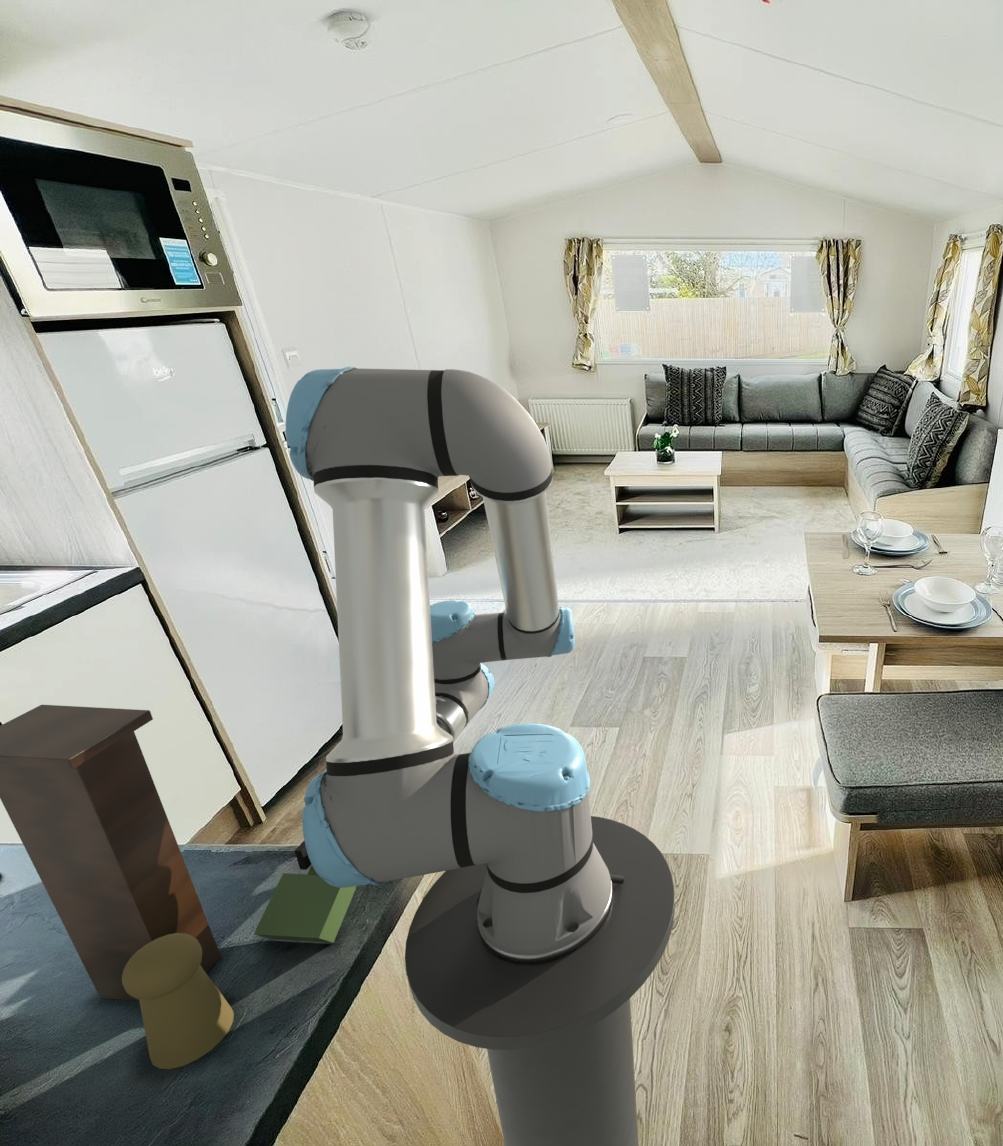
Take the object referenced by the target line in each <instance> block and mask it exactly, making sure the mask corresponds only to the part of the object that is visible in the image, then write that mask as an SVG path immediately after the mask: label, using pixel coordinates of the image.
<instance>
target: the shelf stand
mask: <svg viewBox="0 0 1003 1146" xmlns="http://www.w3.org/2000/svg"><path fill="white" fill-rule="evenodd" d="M153 720H154V718H153V715H152V711H150V710H149V709H131V708H115V707H114V708H111V707H96V706H95V707H94V706H93V707H92V706H91V707H90V706H76V705H58V704H57V705H55V704H40V705H37V706H36V707H34V708H32V709H30V710H28V711H26V712H24V713H22V714H21V715H18V716H16V717H14V718H13V719H10V720H9V721H6V722H5V723H2V724H1V725H0V801H1V803H2V805H3V807H4V809H5V811H6V813H7V815H8V817H9V819H10V821H11V823H12V825H13V827H14V828H15V831H16V833H17V835H18V837H19V839H20V841H21V843H22V845H23V847H24V849H25V851H26V853H27V855H28V857H29V859H30V862H31V864H32V865H33V867H34V869H35V871H36V873H37V875H38V877H39V879H40V881H41V883H42V885H43V886H44V889H45V891H46V893H47V895H48V898H49V899H50V901H51V904H52V905H53V907H54V908H55V911H56V913H57V915H58V916H59V918H60V921H61V923H62V925H63V927H64V928H65V931H66V933H67V935H68V937H69V939H70V941H71V944H72V945H73V947H74V948H75V951H76V953H77V955H78V956H79V958H80V961H81V963H82V965H83V967H84V969H85V971H86V972H87V974H88V977H89V979H90V980H91V982H92V985H93V986H94V988H95V990H96V991H95V992H97V994H98V997H99V998H100V999H107V1000H120V1001H121V1000H122V1001H123V1000H124V1001H136V1002H137V1001H138V1002H139V999H136V998H134V997H132V996H131V995H129V994H128V993H127V992H126V990H125V988H124V986H123V984H122V974H123V970H124V968H125V966H126V964H127V962H128V961H129V959H130V958H131V957H132V956H133V955H134V954H135V953H136V952H137V951H138V950H139V949H141V948H142V947H143V946H145V945H146V944H148V943H150V942H152V941H153V940H155V939H157V938H160V937H163V936H165V935H169V934H174V933H185V934H189V935H191V936H193V937H195V938H196V939H197V940H198V942H199V944H200V945H201V948H202V959H201V963H200V966H201V967H202V968H203V970H204V971H205V972H206V974H207V973H208V972H209V971H210V970H211V969H212V967H214V965H215V964H216V963H217V962H218V961H219V960H220V959H221V957H222V955H221V953H220V949H219V947H218V945H217V943H216V940H215V937H214V934H213V931H212V929H211V926H210V924H209V922H208V919H207V917H206V913H205V911H204V908H203V906H202V904H201V901H200V898H199V896H198V893H197V890H196V888H195V885H194V883H193V880H192V877H191V875H190V872H189V869H188V867H187V864H186V861H185V859H184V857H183V855H182V851H181V849H180V847H179V844H178V842H177V839H176V836H175V834H174V830H173V829H172V825H171V823H170V820H169V818H168V816H167V813H166V810H165V807H164V805H163V802H162V800H161V797H160V794H159V792H158V789H157V787H156V785H155V782H154V779H153V776H152V774H151V772H150V769H149V767H148V764H147V761H146V759H145V756H144V753H143V751H142V749H141V745H140V743H139V741H138V738H137V735H136V733H135V731H137V730H139V729H140V728H142V727H143V726H145V725H146V724H148V723H150V722H151V721H153Z"/></svg>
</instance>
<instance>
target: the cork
mask: <svg viewBox="0 0 1003 1146" xmlns="http://www.w3.org/2000/svg"><path fill="white" fill-rule="evenodd" d="M201 959H202V948H201V945H200V944H199V942H198V940H197V939H196V938H195V937H193V936H191V935H189V934H185V933H174V934H169V935H165V936H163V937H160V938H157V939H155V940H153V941H152V942H150V943H148V944H146V945H145V946H143V947H142V948H141V949H139V950H138V951H137V952H136V953H135V954H134V955H133V956H132V957H131V958H130V959H129V961H128V962H127V964H126V966H125V968H124V970H123V974H122V984H123V986H124V988H125V990H126V992H127V993H128V994H129V995H131V996H132V997H134V998H136V999H139V1001H138V1002H139V1006H140V1011H141V1016H142V1017H141V1018H142V1023H143V1028H144V1033H145V1038H146V1044H147V1049H148V1054H149V1059H150V1062H151V1064H152V1065H153V1066H154V1067H155V1068H158V1069H160V1070H172V1069H178V1068H181V1067H184V1066H186V1065H188V1064H190V1063H193V1062H195V1061H197V1060H199V1059H200V1058H201V1057H204V1056H205V1055H207V1054H208V1053H209V1052H211V1051H212V1050H213V1049H214V1048H215V1047H216V1046H217V1045H218V1044H220V1042H222V1041H223V1039H224V1038H225V1037H226V1035H227V1034H228V1033H229V1031H230V1029H231V1027H232V1025H233V1023H234V1018H235V1017H234V1016H235V1012H234V1010H233V1009H232V1006H231V1004H229V1003H228V1001H227V1000H226V998H225V997H224V995H223V994H222V993H221V992H220V990H219V989H218V987H217V985H215V983H214V982H213V981H212V979H211V977H210V976H209V975H208V974H207V973H206V972H205V971H204V970H203V968H202V967H201V966H200V963H201Z"/></svg>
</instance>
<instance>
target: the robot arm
mask: <svg viewBox="0 0 1003 1146" xmlns="http://www.w3.org/2000/svg"><path fill="white" fill-rule="evenodd" d="M523 406H524V405H522V404H521V403H520V402H519V401H518V400H517V399H516V397H514V396H513V394H511V393H509V392H508V391H507V390H506V389H505V388H504V387H502V386H501V385H498V383H496V382H495V381H492V380H491V379H489V378H487V377H484V376H482V375H479V374H477V373H474V372H471V371H468V370H463V369H462V370H461V369H453V368H449V369H448V368H446V369H444V370H443V369H403V368H402V369H401V368H400V369H399V368H359V367H357V366H346V367H342V368H325V369H324V368H322V369H321V368H320V369H313V370H311V371H308V372H307V373H305V374H304V375H303V376H302V377H301V378H300V379H299V380H297V382H296V383H295V384H294V386H293V389H292V391H291V393H290V395H289V399H288V403H287V406H286V414H285V439H286V440H285V441H286V445H287V446H288V447H289V452H288V453H289V457H290V461H291V463H292V465H293V468H294V469H295V471H296V472H297V473H298V474H299V475H300V476H301V477H302V478H304V479H306V480H310V481H312V482H313V492H314V494H315V495H316V496H318V497H319V498H320V499H321V500H322V501H324V502H325V503H326V504H327V505H329V507H330V508H331V509H332V526H333V527H332V528H333V529H332V530H333V550H334V568H335V569H334V571H335V591H336V593H335V594H336V609H337V610H336V613H337V615H336V616H337V633H338V635H337V636H338V656H339V675H340V676H339V677H340V678H339V679H340V697H341V699H340V700H341V721H342V737H341V740H340V741H339V742H338V743H337V744H336V745H335V746H334V747H333V749H332V750H331V751H330V752H329V753H328V754H327V755H326V757H325V765H326V766H325V770H324V771H322V772H320V773H319V774H317V775H315V776H313V778H312V779H311V780H310V782H309V783H308V785H307V787H306V789H305V793H304V796H303V800H304V804H305V806H304V807H302V810H301V811H302V812H301V824H302V825H301V827H302V834H303V841H302V842H301V843H300V844H299V845H298V846H297V848H295V850H294V854H295V858H296V860H297V863H298V867H299V870H304V871H305V870H308V869H310V867H311V865H312V866H313V868H314V869H315V871H316V873H317V874H318V875H319V876H320V877H321V878H322V879H323V880H324V881H325V882H326V883H328V884H330V885H332V886H334V887H340V888H346V887H354V886H357V887H361V886H369V885H370V886H380V885H381V886H382V885H385V884H387V883H388V882H392V881H398V880H403V879H404V880H405V879H409V878H414V877H419V876H420V877H421V876H424V875H430V874H435V873H436V874H437V873H441V872H445V871H447V870H453V869H458V868H463V867H468V866H473V865H479V864H485V863H486V865H487V872H486V876H485V880H484V883H483V886H482V889H481V891H480V894H479V896H478V899H477V901H476V908H477V905H478V911H477V922H478V928H479V934H480V937H481V940H482V942H483V944H484V945H485V947H486V948H487V949H488V950H489V951H490V952H491V953H492V954H493V955H495V956H496V957H498V958H500V959H502V960H504V961H507V962H510V963H514V964H522V965H533V964H541V963H546V962H550V961H554V960H557V959H559V958H562V957H564V956H566V955H568V954H570V953H572V952H574V951H576V950H577V949H579V948H580V947H582V946H583V945H584V944H586V943H587V942H588V941H589V940H590V939H591V938H592V937H593V936H594V935H595V934H596V933H597V932H598V931H599V929H600V928H601V927H602V925H603V924H604V922H605V920H606V919H607V917H608V914H609V912H610V909H611V905H612V883H617V884H623V883H624V876H619V875H611V874H609V871H608V868H607V866H606V864H605V863H604V861H603V859H602V857H601V856H600V854H599V852H598V850H597V848H596V847H595V845H594V843H593V836H592V824H591V816H592V814H591V813H592V812H591V804H590V794H589V793H590V788H591V776H590V773H589V771H588V767H587V761H586V760H587V759H586V755H585V751H584V750H583V747H582V745H581V744H580V742H579V741H578V740H577V739H576V738H575V737H574V736H573V735H571V734H569V733H566V732H565V731H564V730H562V728H558V727H555V726H553V725H549V724H542V723H534V722H533V723H529V722H528V723H527V722H525V723H515V724H510V725H506V726H501V727H500V728H497V730H496V732H495V733H494V732H489V733H487V734H485V735H484V736H482V737H481V738H480V739H479V740H478V741H476V743H475V744H474V746H473V747H472V749H471V752H465V753H455V750H454V748H455V747H454V743H455V741H456V740H457V739H458V738H459V737H460V736H461V734H462V733H463V731H464V730H465V728H466V727H467V726H468V724H469V723H470V722H471V721H472V719H473V718H474V717H475V716H476V715H477V713H478V712H479V711H480V710H481V709H483V707H485V705H486V704H487V702H488V700H489V698H490V696H491V695H492V694H493V692H494V689H495V678H494V675H493V673H491V671H490V670H489V667H487V666H486V665H485V664H483V663H491V662H500V661H501V662H502V661H503V662H504V661H513V660H524V659H534V658H551V657H553V656H559V655H564V654H570V653H571V652H573V651H574V650H575V646H576V643H575V641H576V640H575V627H574V626H575V625H574V615H573V614H574V613H573V611H572V608H569V607H561V606H559V605H560V604H559V598H558V597H559V596H558V588H557V578H556V570H555V569H556V568H555V560H554V559H555V558H554V552H553V543H552V534H551V526H550V517H549V506H548V498H547V491H548V490H549V488H550V487H551V485H552V483H553V479H554V478H553V477H554V476H553V475H554V473H553V465H552V457H551V454H550V451H549V447H548V445H547V442H546V439H545V436H544V434H543V433H542V431H541V430H540V428H539V426H538V424H537V423H536V422H535V420H534V419H533V416H531V414H530V413H529V411H527V410H526V408H524V407H523ZM458 476H468V477H469V482H470V485H471V487H472V489H473V490H474V492H475V493H476V494H477V495H479V497H481V498H482V499H483V505H484V509H485V510H484V511H485V515H486V519H487V523H488V528H489V529H488V530H489V534H490V538H491V539H490V540H491V543H492V549H493V553H494V558H495V563H496V568H497V573H498V577H499V582H500V587H501V592H502V597H503V602H504V607H505V612H494V613H480V614H479V613H478V614H475V611H474V609H473V606H472V605H471V604H470V603H469V602H466V601H464V600H460V601H458V600H453V599H452V600H443V601H439V602H435V603H433V604H431V601H430V583H429V566H428V565H429V564H428V549H427V548H428V546H427V532H426V531H427V529H426V513H425V512H426V511H425V509H426V508H427V506H428V505H429V504H430V503H432V501H433V500H435V498H437V497H438V496H439V493H440V492H439V477H458Z"/></svg>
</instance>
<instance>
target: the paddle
mask: <svg viewBox="0 0 1003 1146" xmlns="http://www.w3.org/2000/svg"><path fill="white" fill-rule="evenodd" d="M308 869H309V870H308V871H307V874H306V873H289V872H288V873H287V872H283V873H282V875H281V876H280V879H279V881H278V883H277V884H276V887H275V889H274V891H273V893H272V894H271V895H272V896H271V897H270V899H269V902H268V903H267V905H266V908H265V910H264V912H263V914H262V916H261V918H260V920H259V922H258V924H257V926H256V928H255V930H254V933H253V936H254V935H255V936H258V937H262V938H265V939H268V940H276V941H277V940H278V941H293V942H311V943H328V944H334V942H335V940H336V938H337V935H338V933H339V930H340V928H341V926H342V923H343V921H344V919H345V916H346V914H347V911H348V909H349V906H350V904H351V902H352V899H353V896H354V894H355V891H356V889H357V887H358V886H354V887H346V888H340V887H334V886H332V885H330V884H328V883H326V882H325V881H324V880H323V879H322V878H321V877H320V876H319V875H318V874H317V873H316V871H315V869H314V868H313V866H312V864H311V865H310V867H309V868H308Z"/></svg>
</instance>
